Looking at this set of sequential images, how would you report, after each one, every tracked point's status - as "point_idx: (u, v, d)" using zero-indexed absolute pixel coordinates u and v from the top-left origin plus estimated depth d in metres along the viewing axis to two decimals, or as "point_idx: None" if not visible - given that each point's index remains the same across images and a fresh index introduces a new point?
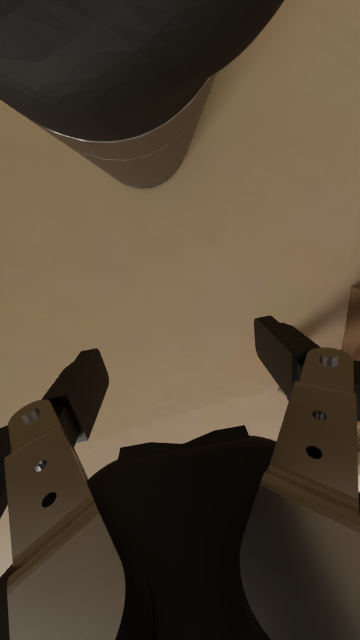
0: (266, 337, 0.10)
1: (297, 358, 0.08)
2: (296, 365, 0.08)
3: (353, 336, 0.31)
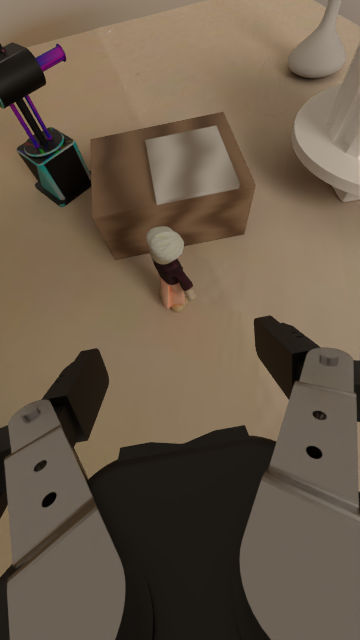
0: (266, 337, 0.10)
1: (297, 358, 0.08)
2: (296, 365, 0.08)
3: None
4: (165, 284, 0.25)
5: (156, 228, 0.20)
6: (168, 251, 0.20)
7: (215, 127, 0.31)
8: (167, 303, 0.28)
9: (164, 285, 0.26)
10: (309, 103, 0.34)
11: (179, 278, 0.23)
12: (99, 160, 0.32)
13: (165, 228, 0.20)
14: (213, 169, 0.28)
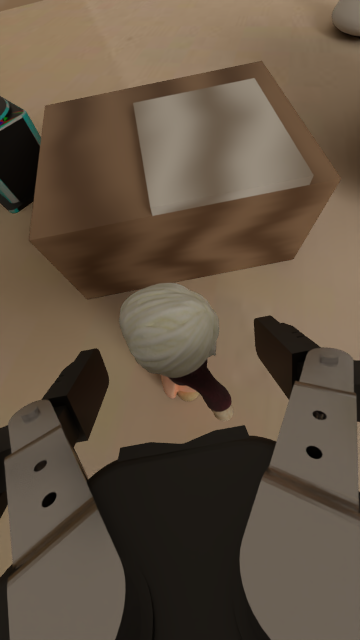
0: (266, 337, 0.10)
1: (297, 358, 0.08)
2: (296, 365, 0.08)
3: (152, 276, 0.20)
4: (169, 380, 0.12)
5: (147, 294, 0.07)
6: (181, 361, 0.07)
7: (253, 81, 0.18)
8: (171, 395, 0.15)
9: (166, 379, 0.13)
10: None
11: (203, 393, 0.10)
12: (55, 137, 0.19)
13: (172, 294, 0.07)
14: (258, 149, 0.15)
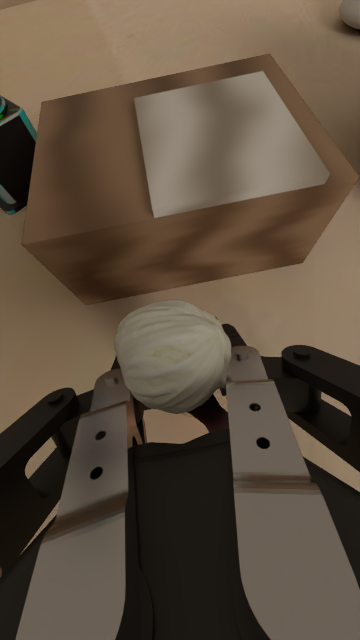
0: None
1: None
2: None
3: (154, 281, 0.19)
4: None
5: (148, 315, 0.06)
6: (184, 397, 0.06)
7: (261, 74, 0.17)
8: None
9: None
10: None
11: (207, 424, 0.08)
12: (52, 135, 0.18)
13: (179, 316, 0.06)
14: (268, 146, 0.14)
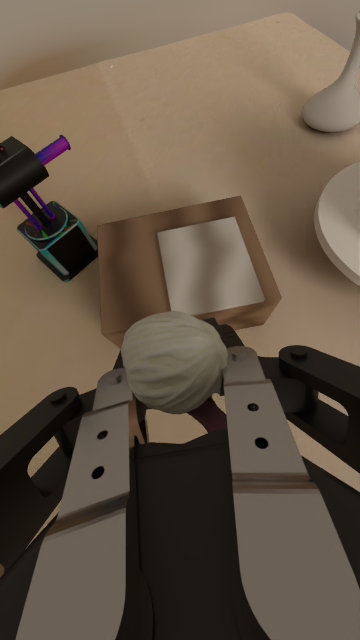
0: None
1: None
2: None
3: None
4: None
5: (151, 326, 0.07)
6: (180, 401, 0.06)
7: (233, 219, 0.28)
8: None
9: None
10: (333, 183, 0.32)
11: (204, 424, 0.09)
12: (107, 254, 0.29)
13: (179, 328, 0.07)
14: (234, 277, 0.25)
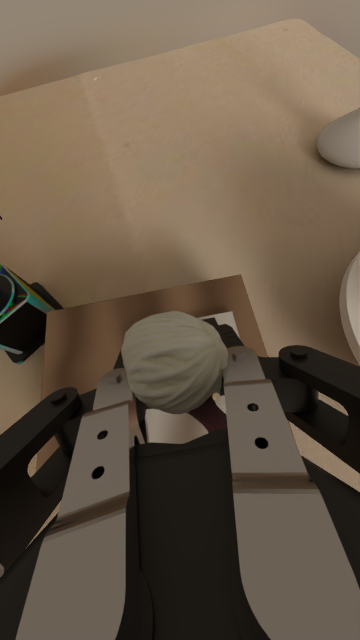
0: None
1: None
2: None
3: None
4: None
5: (152, 326, 0.07)
6: (180, 401, 0.06)
7: (230, 316, 0.20)
8: None
9: None
10: None
11: (205, 424, 0.09)
12: (56, 361, 0.21)
13: (179, 328, 0.07)
14: None
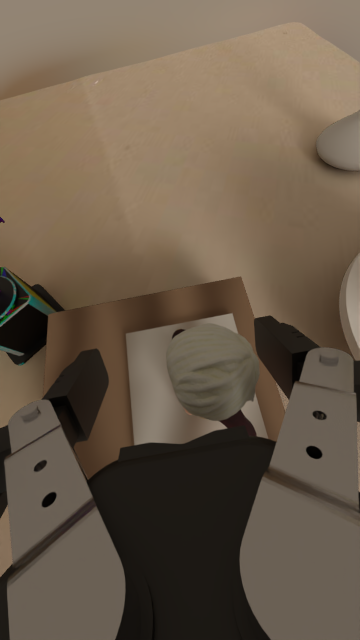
0: (266, 337, 0.10)
1: (297, 358, 0.08)
2: (296, 365, 0.08)
3: None
4: None
5: (197, 339, 0.07)
6: (223, 408, 0.07)
7: (231, 318, 0.21)
8: (190, 413, 0.16)
9: None
10: None
11: None
12: (58, 362, 0.21)
13: (221, 341, 0.07)
14: None
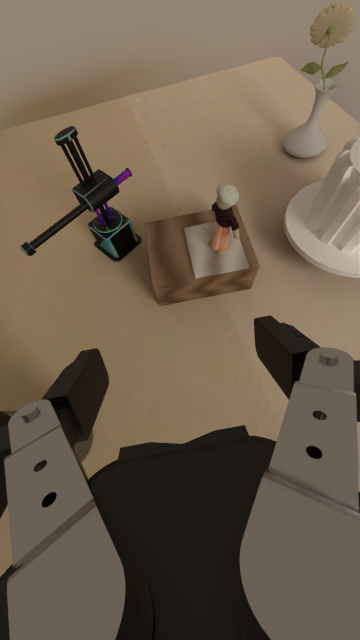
0: (266, 337, 0.10)
1: (297, 358, 0.08)
2: (296, 365, 0.08)
3: (190, 296, 0.48)
4: (219, 227, 0.38)
5: (224, 183, 0.32)
6: (230, 198, 0.32)
7: None
8: (216, 245, 0.41)
9: (218, 228, 0.38)
10: (296, 197, 0.49)
11: (232, 220, 0.35)
12: (152, 241, 0.46)
13: (230, 184, 0.32)
14: (231, 254, 0.42)
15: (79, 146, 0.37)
